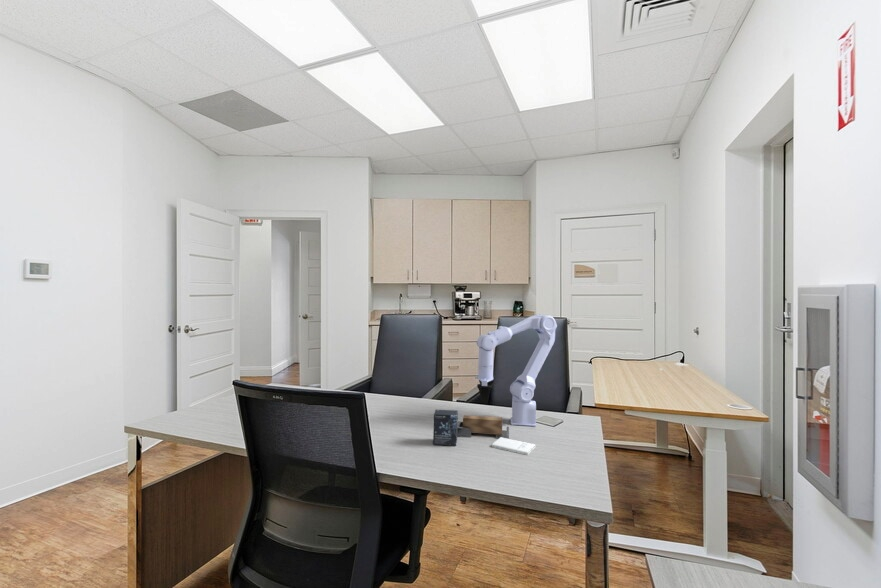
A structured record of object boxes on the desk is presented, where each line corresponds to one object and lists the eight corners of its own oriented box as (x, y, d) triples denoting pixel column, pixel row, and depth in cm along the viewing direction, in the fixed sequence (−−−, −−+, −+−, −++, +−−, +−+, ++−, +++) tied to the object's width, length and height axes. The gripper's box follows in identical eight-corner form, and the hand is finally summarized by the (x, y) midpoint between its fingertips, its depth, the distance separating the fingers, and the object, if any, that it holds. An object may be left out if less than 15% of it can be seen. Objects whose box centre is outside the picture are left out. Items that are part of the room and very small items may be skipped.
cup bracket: (472, 430, 154) (472, 422, 154) (470, 437, 147) (471, 428, 146) (458, 429, 155) (458, 421, 155) (455, 435, 147) (455, 427, 147)
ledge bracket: (508, 433, 151) (508, 426, 151) (508, 439, 145) (508, 432, 145) (496, 432, 152) (496, 425, 152) (495, 438, 146) (495, 431, 146)
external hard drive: (501, 441, 145) (535, 448, 138) (491, 448, 138) (527, 456, 131) (501, 436, 145) (535, 443, 138) (491, 444, 138) (527, 451, 131)
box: (433, 445, 138) (433, 413, 138) (434, 439, 144) (435, 409, 144) (456, 446, 137) (457, 414, 137) (457, 440, 143) (457, 410, 143)
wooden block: (502, 431, 150) (502, 417, 150) (501, 434, 147) (502, 420, 147) (463, 428, 152) (464, 415, 152) (462, 431, 149) (462, 417, 149)
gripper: (476, 362, 168) (476, 395, 168) (473, 368, 154) (473, 404, 154) (494, 362, 167) (493, 396, 167) (492, 369, 153) (492, 406, 153)
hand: (485, 400), depth 160 cm, fingers open, 7 cm apart
